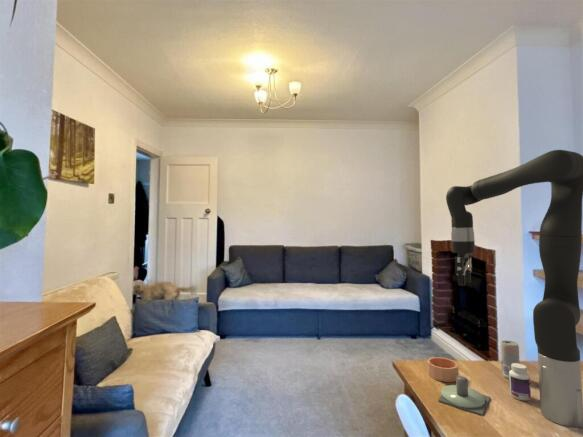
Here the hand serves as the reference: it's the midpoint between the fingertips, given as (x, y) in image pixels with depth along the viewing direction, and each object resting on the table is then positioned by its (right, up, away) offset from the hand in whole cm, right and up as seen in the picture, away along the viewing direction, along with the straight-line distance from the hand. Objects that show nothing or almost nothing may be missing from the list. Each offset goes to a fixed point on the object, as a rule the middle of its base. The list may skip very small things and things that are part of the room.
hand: (464, 284), depth 116 cm
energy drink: (+15, -33, -3) cm, 36 cm away
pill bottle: (+9, -33, -16) cm, 37 cm away
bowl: (-8, -33, -1) cm, 34 cm away
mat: (-10, -33, -17) cm, 38 cm away
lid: (-10, -32, -17) cm, 38 cm away
